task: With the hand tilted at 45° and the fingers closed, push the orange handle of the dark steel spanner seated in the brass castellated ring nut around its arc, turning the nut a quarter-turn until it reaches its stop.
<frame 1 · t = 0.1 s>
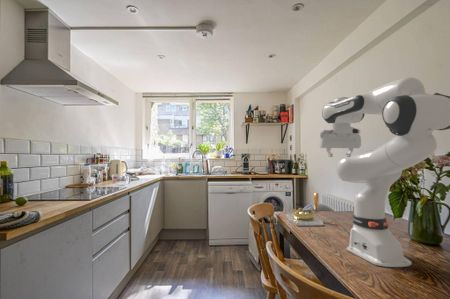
hand: (339, 156, 124), 39 cm above the table, tool pointing down, fingers open, 8 cm apart
ring nut: (306, 205, 144), point 9 cm above the table, hinge at 0.0°
cap plate: (303, 220, 144), on the table
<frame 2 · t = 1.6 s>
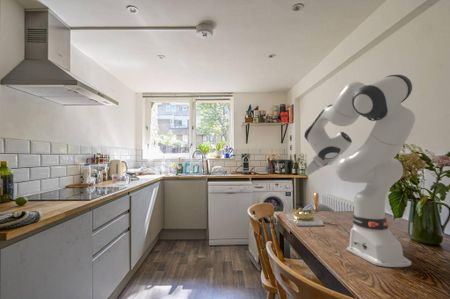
hand: (312, 171, 137), 30 cm above the table, tool tilted 50°, fingers open, 8 cm apart
nothing on the table moved.
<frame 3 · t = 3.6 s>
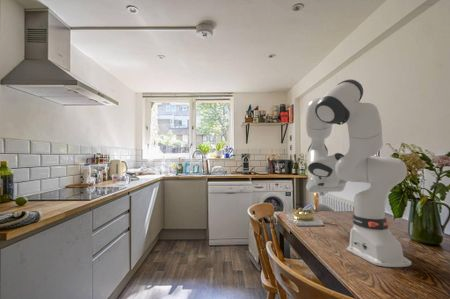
hand: (320, 194, 135), 17 cm above the table, tool tilted 45°, fingers closed
nothing on the table moved.
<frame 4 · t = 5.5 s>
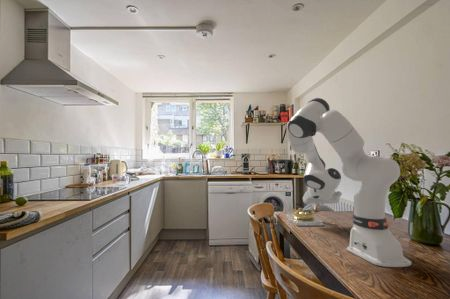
hand: (317, 205, 143), 9 cm above the table, tool tilted 45°, fingers closed, pressing on ring nut
ring nut: (306, 205, 144), point 9 cm above the table, hinge at 0.0°, touching gripper
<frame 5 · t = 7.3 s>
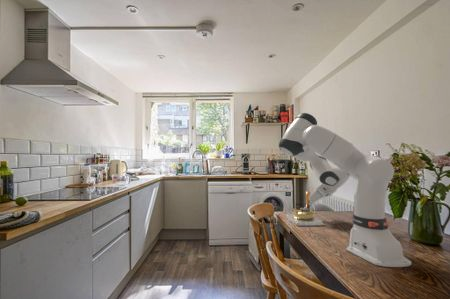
hand: (310, 203, 150), 9 cm above the table, tool tilted 45°, fingers closed, pressing on ring nut
ring nut: (304, 204, 146), point 9 cm above the table, hinge at 49.8°, touching gripper
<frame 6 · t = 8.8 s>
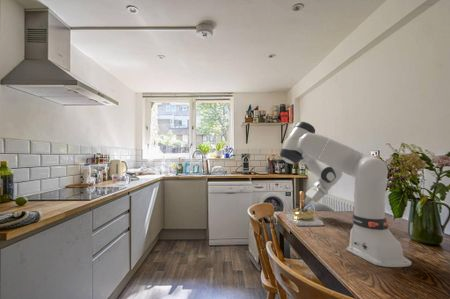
hand: (304, 203, 152), 9 cm above the table, tool tilted 45°, fingers closed, pressing on ring nut
ring nut: (303, 204, 146), point 9 cm above the table, hinge at 76.4°, touching gripper
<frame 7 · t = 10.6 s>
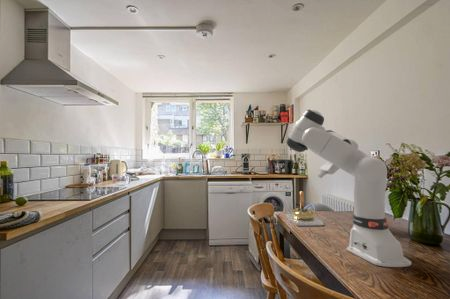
hand: (319, 177, 151), 26 cm above the table, tool tilted 45°, fingers closed
ring nut: (303, 204, 146), point 9 cm above the table, hinge at 76.5°
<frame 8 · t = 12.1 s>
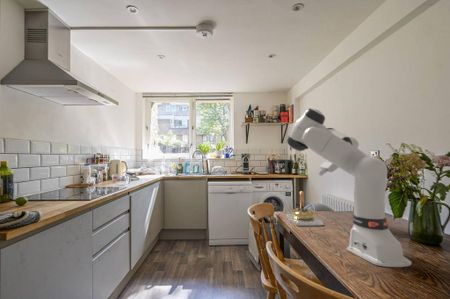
hand: (319, 174, 151), 27 cm above the table, tool tilted 45°, fingers closed
nothing on the table moved.
at the end: ring nut at +76° (first picture: +0°); the gripper is holding nothing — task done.
